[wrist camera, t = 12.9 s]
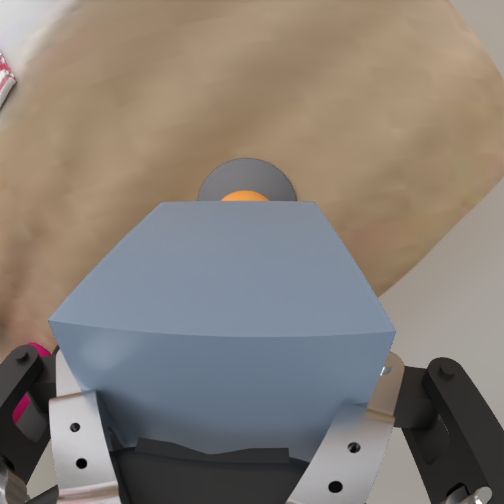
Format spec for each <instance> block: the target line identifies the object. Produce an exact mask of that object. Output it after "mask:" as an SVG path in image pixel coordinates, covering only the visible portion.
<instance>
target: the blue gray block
mask: <svg viewBox="0 0 504 504" xmlns="http://www.w3.org/2000/svg"><path fill="white" fill-rule="evenodd" d="M48 322H49V324H50V327H51V329H52V332H53V334H54V336H55V339H56V341H57V343H58V345H59V348H60V350H61V352H62V354H63V356H64V358H65V360H66V362H67V364H68V366H69V368H70V370H71V372H72V374H73V376H74V378H75V380H76V382H77V384H78V386H79V388H80V389H84V390H92V389H97V390H99V392H100V394H101V396H102V398H103V400H104V402H105V404H106V406H107V408H108V410H109V413H110V415H111V416H112V418H113V420H114V422H115V423H116V425H117V427H118V428H119V430H120V432H121V433H122V434H123V435H124V437H125V438H126V440H127V442H128V443H129V445H130V447H134V446H136V445H137V442H138V438H139V437H141V438H147V439H153V440H159V441H166V442H173V443H176V444H179V445H181V446H184V447H187V448H190V449H193V450H196V451H199V452H203V453H206V454H219V453H225V452H231V451H237V450H243V449H248V448H289V457H292V458H297V459H301V460H304V461H307V462H310V463H311V461H312V459H313V457H314V456H315V454H316V452H317V450H318V448H319V447H320V445H321V443H322V441H323V439H324V437H325V435H326V433H327V431H328V430H329V428H330V426H331V424H332V422H333V420H334V418H335V416H336V414H337V412H338V409H339V407H340V405H341V404H342V402H347V403H350V404H357V403H366V402H369V401H370V399H371V396H372V394H373V392H374V389H375V387H376V385H377V382H378V380H379V377H380V375H381V372H382V370H383V367H384V364H385V362H386V359H387V356H388V354H389V351H390V348H391V345H392V342H393V340H394V336H395V333H396V329H395V328H394V326H393V324H392V322H391V321H390V319H389V317H388V315H387V314H386V312H385V310H384V309H383V307H382V305H381V303H380V302H379V300H378V298H377V297H376V295H375V293H374V292H373V290H372V288H371V287H370V285H369V283H368V282H367V280H366V278H365V277H364V275H363V274H362V272H361V270H360V269H359V267H358V266H357V264H356V262H355V261H354V259H353V258H352V256H351V255H350V253H349V252H348V250H347V248H346V247H345V245H344V244H343V242H342V241H341V239H340V238H339V236H338V235H337V233H336V232H335V230H334V229H333V227H332V226H331V224H330V223H329V221H328V220H327V218H326V217H325V216H324V214H323V213H322V211H321V210H320V208H319V207H318V205H317V204H316V203H315V202H300V201H185V202H161V203H160V204H159V205H158V206H157V207H156V208H155V209H154V210H153V211H151V212H150V213H149V214H148V215H147V216H146V217H145V218H144V219H143V220H142V221H141V222H140V223H139V224H138V225H136V226H135V227H134V228H133V229H132V230H131V231H130V232H129V233H128V234H127V235H126V236H125V237H124V238H123V239H122V240H121V241H120V242H119V243H118V244H117V245H116V246H115V247H114V248H113V249H112V250H111V251H110V252H109V253H108V254H107V255H106V256H105V257H104V258H103V259H102V260H101V261H100V262H99V263H98V264H97V265H96V266H95V268H94V269H93V270H92V271H91V272H90V273H89V274H88V275H87V276H86V277H85V278H84V279H83V280H82V281H81V282H80V284H79V285H78V286H77V287H76V288H75V289H74V290H73V291H72V292H71V294H70V295H69V296H68V297H67V298H66V299H65V300H64V301H63V303H62V304H61V305H60V306H59V307H58V308H57V310H56V311H55V312H54V313H53V314H52V315H51V317H50V318H49V319H48Z"/></svg>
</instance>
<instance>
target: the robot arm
mask: <svg viewBox="0 0 504 504" xmlns="http://www.w3.org/2000/svg"><path fill="white" fill-rule="evenodd" d="M25 394H26V395H27V397H28V398H29V400H30V401H31V402H30V404H29V405H28V407H27V408H26V410H25V411H24V413H23V414H22V416H21V417H20V419H19V420H18V422H17V424H15V423H14V421H13V412H14V410H15V408H16V407H17V405H18V404H19V402H20V401H21V399H22V398H23V396H24V395H25ZM441 419H442V420H441ZM445 426H446V427H445ZM393 427H399V428H401V429H402V431H403V433H404V436H405V438H406V441H407V443H408V445H409V448H410V450H411V453H412V455H413V458H414V460H415V463H416V465H417V468H418V470H419V473H420V475H421V478H422V480H423V483H424V485H425V488H426V491H427V493H428V496H429V499H430V502H431V504H504V430H503V428H502V427H501V425H500V424H499V422H498V420H497V419H496V417H495V415H494V414H493V412H492V411H491V409H490V407H489V406H488V404H487V403H486V401H485V400H484V398H483V397H482V395H481V394H480V392H479V391H478V389H477V388H476V386H475V385H474V384H473V382H472V380H471V379H470V378H469V376H468V375H467V374H466V372H465V371H464V369H463V368H462V366H461V365H460V364H459V363H457V362H456V361H454V360H452V359H449V358H444V357H440V358H436V359H434V360H432V361H431V362H430V363H429V365H428V368H427V369H424V368H415V367H408V366H404V364H403V362H402V360H401V359H400V358H399V356H397V355H396V354H394V353H392V352H390V351H389V354H388V356H387V359H386V362H385V364H384V367H383V370H382V372H381V375H380V377H379V380H378V382H377V385H376V387H375V389H374V392H373V394H372V396H371V399H370V401H369V402H366V403H357V404H350V403H347V402H342V404H341V405H340V407H339V409H338V412H337V414H336V416H335V418H334V420H333V422H332V424H331V426H330V428H329V430H328V431H327V433H326V435H325V437H324V439H323V441H322V443H321V445H320V447H319V448H318V450H317V452H316V454H315V456H314V457H313V459H312V461H311V463H310V462H307V461H304V460H301V459H297V458H292V457H289V448H248V449H243V450H237V451H231V452H225V453H219V454H206V453H203V452H199V451H196V450H193V449H190V448H187V447H184V446H181V445H179V444H176V443H173V442H166V441H159V440H153V439H147V438H141V437H139V438H138V442H137V445H136V446H134V447H130V445H129V443H128V442H127V440H126V438H125V437H124V435H123V434H122V433H121V432H120V430H119V428H118V427H117V425H116V423H115V422H114V420H113V418H112V416H111V415H110V413H109V410H108V408H107V406H106V404H105V402H104V400H103V398H102V396H101V394H100V392H99V390H97V389H92V390H84V389H80V388H79V386H78V384H77V382H76V380H75V378H74V376H73V374H72V372H71V370H70V368H69V366H68V364H67V362H66V360H65V358H64V356H63V354H62V352H61V350H59V351H58V353H57V355H55V356H41V357H40V355H39V353H38V351H37V349H36V347H34V346H32V345H22V346H19V347H17V348H15V349H14V350H13V351H12V352H11V353H10V354H9V355H8V356H7V357H6V359H5V360H4V361H3V362H2V363H1V364H0V504H366V500H367V498H368V496H369V493H370V491H371V489H372V486H373V484H374V481H375V478H376V476H377V473H378V471H379V468H380V465H381V463H382V460H383V457H384V454H385V451H386V448H387V445H388V442H389V438H390V436H391V433H392V429H393ZM446 428H447V429H446ZM447 430H448V431H447ZM448 432H449V433H448ZM50 439H51V441H52V451H53V458H54V465H55V472H56V478H57V485H55V486H54V487H52V488H50V489H49V490H47V491H45V492H43V493H42V494H40V495H38V496H36V497H34V498H33V499H30V497H29V495H27V488H26V485H27V483H28V481H29V479H30V477H31V475H32V473H33V471H34V469H35V467H36V465H37V463H38V461H39V459H40V457H41V455H42V454H43V452H44V450H45V448H46V446H47V444H48V442H49V441H50Z"/></svg>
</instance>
